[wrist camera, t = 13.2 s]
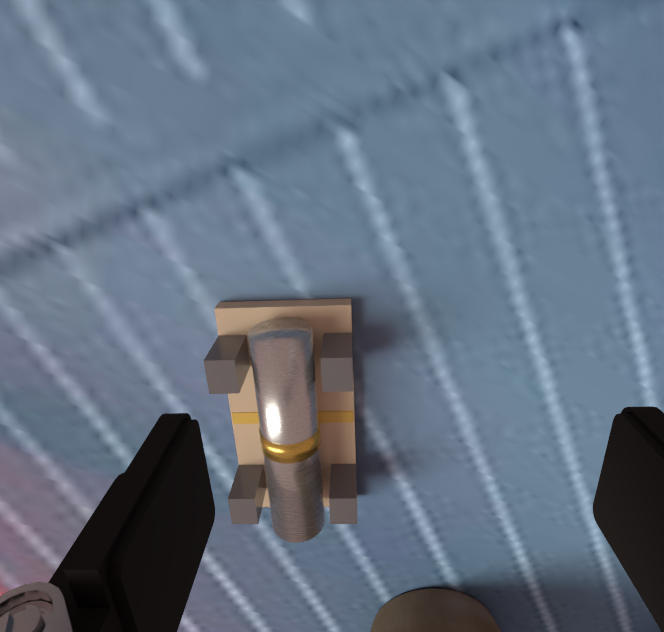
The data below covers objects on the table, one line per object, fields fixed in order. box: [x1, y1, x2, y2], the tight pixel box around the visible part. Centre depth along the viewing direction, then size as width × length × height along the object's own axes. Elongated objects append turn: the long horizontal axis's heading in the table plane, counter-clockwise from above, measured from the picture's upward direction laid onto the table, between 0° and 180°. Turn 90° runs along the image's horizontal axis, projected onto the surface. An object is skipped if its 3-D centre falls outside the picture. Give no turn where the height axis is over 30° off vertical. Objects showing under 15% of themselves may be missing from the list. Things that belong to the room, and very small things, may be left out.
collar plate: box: [204, 298, 357, 524], centre depth 41 cm, size 11×22×6 cm, turn 3°
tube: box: [248, 318, 325, 542], centre depth 40 cm, size 20×5×5 cm, turn 3°
